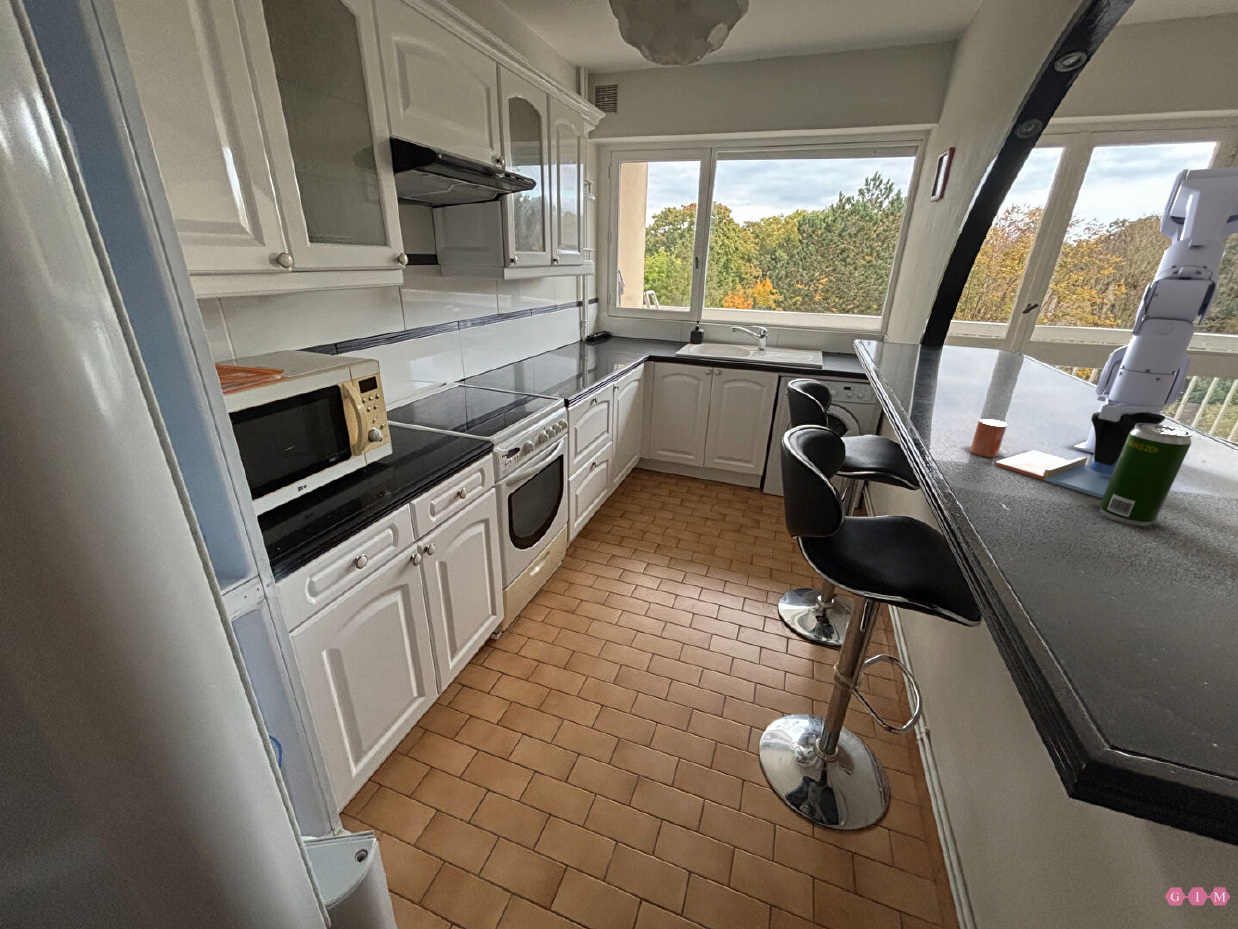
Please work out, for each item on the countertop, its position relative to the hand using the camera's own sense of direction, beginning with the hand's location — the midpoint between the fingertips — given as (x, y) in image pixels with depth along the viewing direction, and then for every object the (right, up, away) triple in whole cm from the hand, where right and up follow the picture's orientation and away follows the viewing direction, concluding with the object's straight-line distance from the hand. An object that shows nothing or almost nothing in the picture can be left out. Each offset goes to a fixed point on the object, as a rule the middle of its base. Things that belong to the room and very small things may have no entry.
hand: (1110, 460), depth 76 cm
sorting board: (-4, -2, +3) cm, 6 cm away
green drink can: (-8, -8, -10) cm, 15 cm away
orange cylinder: (-11, +1, +12) cm, 16 cm away
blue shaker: (0, -2, +1) cm, 2 cm away
